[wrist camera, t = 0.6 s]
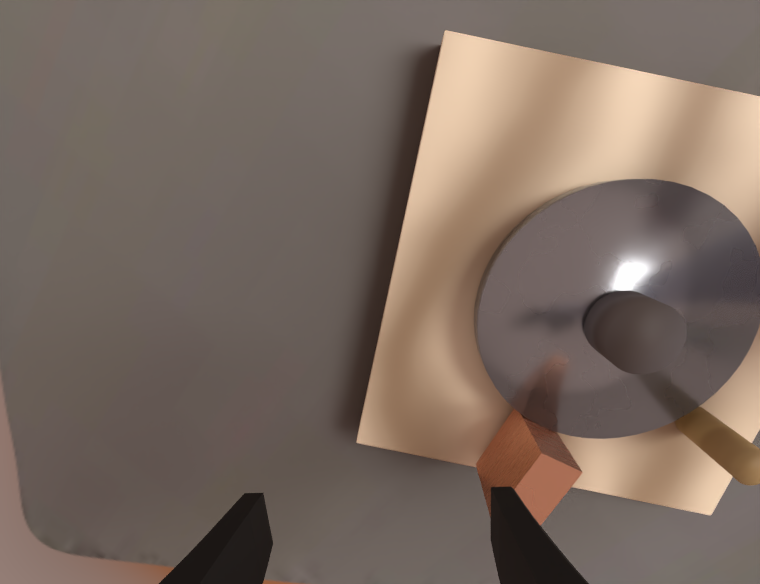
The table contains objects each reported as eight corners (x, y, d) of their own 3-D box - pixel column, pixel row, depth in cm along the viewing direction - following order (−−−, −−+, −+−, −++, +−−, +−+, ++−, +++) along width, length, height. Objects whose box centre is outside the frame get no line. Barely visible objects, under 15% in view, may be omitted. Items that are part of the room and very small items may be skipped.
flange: (567, 127, 15) (616, 110, 12) (804, 257, 16) (912, 276, 13) (392, 424, 19) (390, 474, 16) (587, 515, 20) (625, 580, 17)
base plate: (881, 136, 16) (1080, 115, 12) (690, 493, 22) (772, 579, 17) (441, 44, 16) (458, -17, 12) (359, 425, 22) (347, 493, 17)
